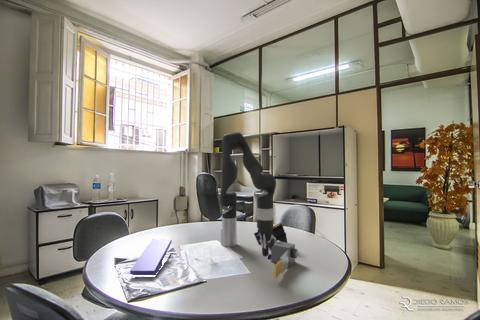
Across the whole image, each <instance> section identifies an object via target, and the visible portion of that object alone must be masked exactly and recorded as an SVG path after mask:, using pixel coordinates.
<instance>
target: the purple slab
mask: <svg viewBox="0 0 480 320" xmlns="http://www.w3.org/2000/svg"><path fill="white" fill-rule="evenodd" d="M172 240H173V239H172V238H152V239H151V240H150V242H149V244H148V245H147V246H146V247H145V249H144V250H143V252H142V253H141V254H140V255H139V257H138V259H137V260H136V262H135V263H134V264H133V266H132V268H131V269H130V270H129V274H130V275H156V273H157V272H158V271H159V269H160V268H161V266H162V260H163V258H164V256H165V255H166V253H168V250H169V249H170V247H171V244H172V242H173V241H172Z"/></svg>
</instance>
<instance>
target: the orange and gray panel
mask: <svg viewBox="0 0 480 320" xmlns="http://www.w3.org/2000/svg"><path fill="white" fill-rule="evenodd" d="M289 267H291V266H290V256H289V249H287V251H286V252H285V253H284V254H283V255H282V256H281V257H280V261H279V262H278V263H275V265H273V279H277V278H278V277H279V276H280V275H282V274H283V273H284V272H285V271H287V269H288V268H289Z"/></svg>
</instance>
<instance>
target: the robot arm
mask: <svg viewBox="0 0 480 320" xmlns="http://www.w3.org/2000/svg"><path fill="white" fill-rule="evenodd" d="M221 142H222V143H221V145H222V146H221V147H222V149H221V150H222V160H221V161H222V162H221V175H220V176H221V179H220V180H221V184H220V185H221V186H220V192H219V204H220V206H221V207H230V208H229V209H228V210H225V211H223V212H222V214H221V229H220V245H222V246H223V247H230V248H232V247H236V246H237V245H238V241H237V238H238V235H237V233H238V232H237V228H238V227H237V225H238V224H237V223H238V222H237V208H238V207H237V205H238V203H237V202H238V196H237V192H236V191H228V190H229V189H230V188H231V186H232V185H233V184H234V183H235V182H236V181H237V178H238V166H237V164H236V163H235V161H234V160H233V158H232V157H231V155H232V154H231V153H232V151H236V150H240V151H241V152H242V164H243V166H244V168H245V170H246V171H247V172H248V174H249V175H250V179H251V181H252V185H253V186H254V187H255V188H256V189H257V190H259V191H261V190H263V192H262V193H261V194H259V195H257V198H256V203H257V207H256V208H257V209H256V228H257V232H254V233H253V234H254V236H255V237H254V238H255V240H256V241H257V244H258V246H261V254H262V256H263V257H268V256H269V255H270V253H269V252H270V251H269V250H270V249H269V248H270V247H272V246H273V245H274V244H275V242H276V241H277V238H275V237H274V236H273V231H272V229H273V226H274V209H273V208H274V205H273V199H274V196H275V195H274V194H275V192H276V186H277V179H276V177H275V176H274V175H273V174H271V173H263V171H264V167H263V165H262V164H261V163H260V161H259V160H258V159H257V158H256V157H255V155H254V154H253V151H252V150H251V148H250V146H249V144H248V142H247V140H246V138H245V137H244V135H243V134H242V132H237V131H236V132H235V131H234V132H229V133H225V134H224V135H223V136H222V141H221Z"/></svg>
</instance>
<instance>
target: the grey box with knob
mask: <svg viewBox="0 0 480 320" xmlns="http://www.w3.org/2000/svg"><path fill="white" fill-rule="evenodd" d="M287 249H289V256H290V267H291V266H292V265H293V264H295V263H296V259H298V255H299V250H298V249H297V248H296V244H295V243H290V242H287V243H286V242H281V241H276V242H275V244H274V245H273V246H272V247H271V250H270V259H271V260H270V261H271V262H270V263H274V264H277V263H278V262H279V261H280V257H281V256H282V255H283V254H284V253H285V252H286V251H287Z"/></svg>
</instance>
